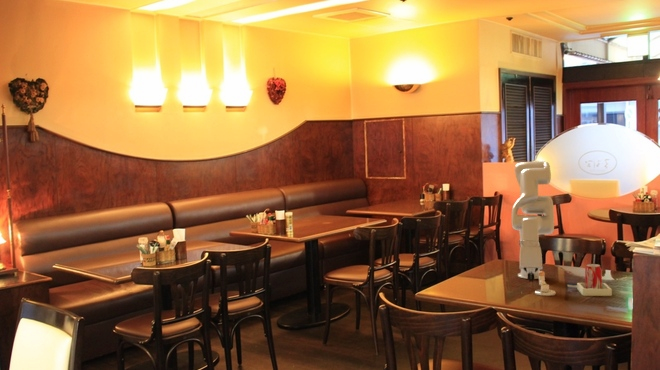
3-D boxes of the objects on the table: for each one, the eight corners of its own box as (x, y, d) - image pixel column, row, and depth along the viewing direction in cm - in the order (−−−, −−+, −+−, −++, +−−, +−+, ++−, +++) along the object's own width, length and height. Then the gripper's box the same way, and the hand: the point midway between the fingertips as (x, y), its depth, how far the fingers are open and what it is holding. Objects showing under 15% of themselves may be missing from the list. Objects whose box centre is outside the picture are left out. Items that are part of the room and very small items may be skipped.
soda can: (603, 292, 289) (603, 266, 289) (586, 292, 291) (586, 266, 290) (600, 289, 296) (600, 263, 295) (584, 288, 298) (583, 263, 297)
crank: (541, 291, 293) (541, 276, 292) (537, 285, 306) (537, 270, 305) (549, 291, 292) (549, 276, 291) (545, 285, 305) (545, 270, 305)
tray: (577, 289, 300) (577, 282, 300) (604, 289, 298) (604, 282, 298) (582, 295, 288) (582, 289, 288) (611, 295, 286) (611, 289, 286)
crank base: (533, 291, 299) (533, 288, 299) (553, 291, 298) (553, 288, 298) (536, 296, 291) (536, 293, 290) (557, 296, 289) (556, 293, 289)
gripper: (513, 244, 302) (514, 282, 303) (547, 244, 298) (547, 283, 299) (514, 241, 309) (514, 279, 310) (546, 242, 305) (547, 279, 306)
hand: (531, 281), depth 305 cm, fingers closed
